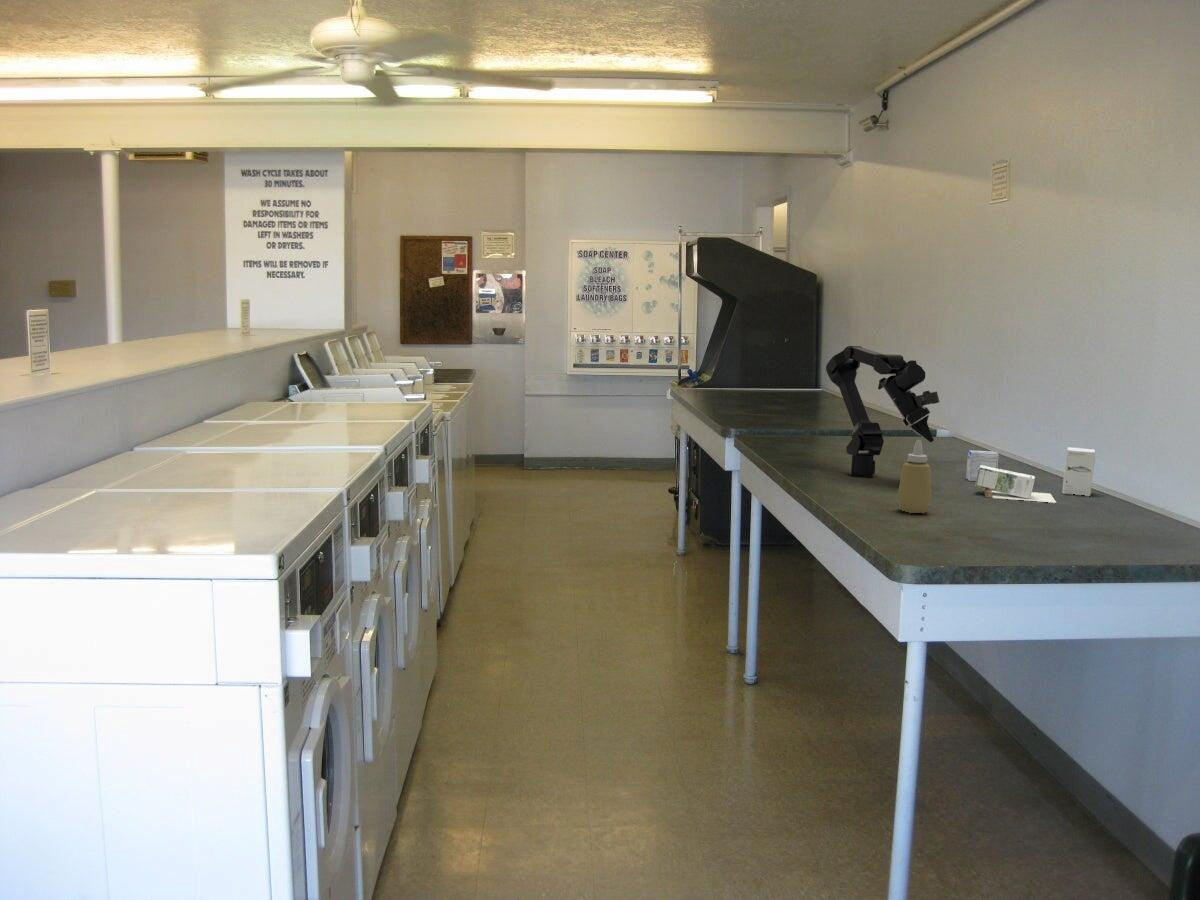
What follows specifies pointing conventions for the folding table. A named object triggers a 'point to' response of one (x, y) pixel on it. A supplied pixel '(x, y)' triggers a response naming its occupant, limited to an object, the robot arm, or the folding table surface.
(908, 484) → the squeeze bottle
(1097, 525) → the folding table surface
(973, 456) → the medicine box
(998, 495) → the mat
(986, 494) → the strip
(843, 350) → the robot arm
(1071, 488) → the supplement box
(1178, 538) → the folding table surface
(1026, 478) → the syrup box
